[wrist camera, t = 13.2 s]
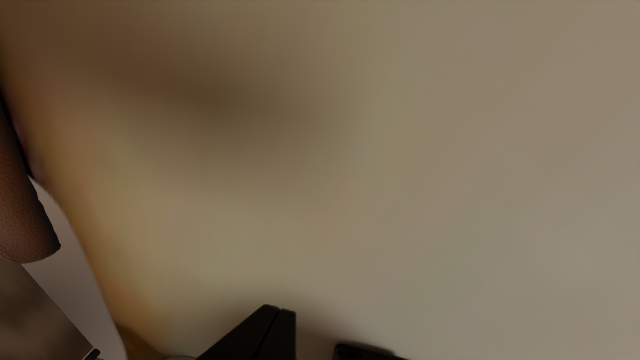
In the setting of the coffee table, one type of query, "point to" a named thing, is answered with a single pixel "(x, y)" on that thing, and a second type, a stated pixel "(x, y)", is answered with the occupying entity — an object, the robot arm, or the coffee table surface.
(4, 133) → the sunglasses case
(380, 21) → the coffee table surface
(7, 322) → the door
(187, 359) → the coffee mug
